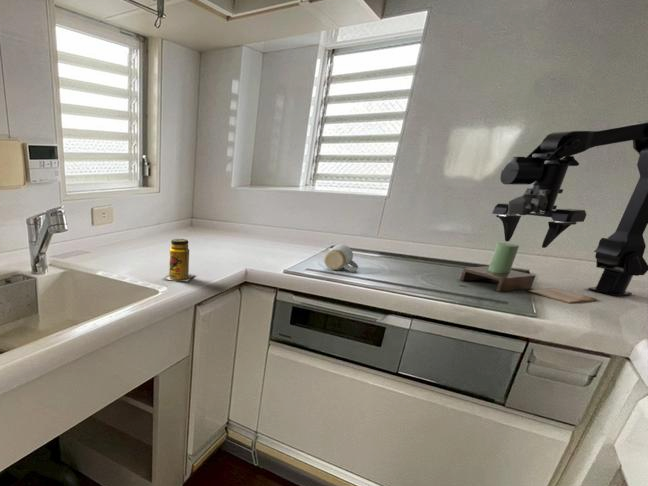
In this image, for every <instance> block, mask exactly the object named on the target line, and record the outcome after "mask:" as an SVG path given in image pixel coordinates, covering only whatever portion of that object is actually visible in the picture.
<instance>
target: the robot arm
mask: <svg viewBox="0 0 648 486" xmlns="http://www.w3.org/2000/svg"><path fill="white" fill-rule="evenodd" d="M545 136H546V137H544V138H543V140H542V142H541V143H539V145H538V146H536V148H534V149H533V150H532V151H531V152H530V153H529V154H528V155H527V156H513V157H512V158H511V160H510V162H508V163H506V165H505V166H504V168H503V169H502V170H501V172H500V176H499V178H500V182H501V183H502V185H515V186H516V185H522V186H523V185H531V186H530V188H529V187H528V188H526V190H525V191H524V193H523V194H522V195H519V196H517V197H515V198H513V199H511V200H508V203H507V202H503V203H502V202H501V203H497V204H496V205H495V206H494V207H493V209H492V211H491V214H493V215H495V217H496V218H498V219H500V222H502V226H503V233H504V241H505V242H510V241H511V239H512V237H513V235H514V233H515V231H516V229H517V227H518V224H519V223H520V220H521V218H522V216H535V217H545V218H551V219H552V221H548V222H547V224H548V229H547V232H546V234H545V237H544V239H543V242H542V245H541V248H543V249H546V248H548V246H549V245H550V244H552V243H553V241H555V240H556V239H557V238H558V237H559V236H560V235H561V234H562V233H563V232H564V231H566V230H567V229H568V228H569V227H571V226H572V225H577V224H578V223H582V222H584V221H585V219H586V217H587V212H586V210H585V209H579V208H578V209H577V208H557V207H558V205H555V204H556V201H557V199H558V195H559V194H563V192H564V189H563V188H561V187H562V185H563V182H564V179H565V177H566V174H567V172H568V169H569V167H578V166H579V165H580V162H579V161H578V160H576V157H575V155H578V154H581V153H584V152H586V151H588V150H589V149H593V148H595V147H600V146H606V145H607V146H608V145H612V144H618V143H625V142H630V141H632V148H633V150H634V151H635V152H636V153H638V160H637V164H636V166H637V170H638V173H639V178H638V180H637V183H636V185H635V187H634V189H633V192H632V194H631V196H630V198H629V200H628V203H627V205H626V207H625V210H624V212H623V214H622V216H621V218H620V220H619V223H618V225H617V228H616V230H615V231H614V233H612V234H611V235H610V236H608V237H601V238H600V239H599V241H598V244H597V247H596V248H595V250H594V251H593V252H594V253H595V255H594V258H595V259H596V265H595V267H596V268H598V269H603V271H602V274H601V275H600V277H599V279H598V282H597V284H596V286H593V287H588V288H587V290H588V291H593V292H597V293H601V294H606V295H609V296H613V297H621V296H630V295H632V294H633V292H630V291H627V289H628V287H629V286H630V282H631V281H632V280H633V277H634V276H635V277H639V276H644V275H646V273H648V263H647V261H646V260H645V258H644V254H645V251H646V248H647V247H646V242H645V238H644V233H645V231H646V229H647V226H648V120H640V121H639V120H638V121H636V122H634V123H628V124H623V125H617V126H611V127H606V128H601V129H594V130H570V131H558V132H552V133H549V134H547V135H545Z"/></svg>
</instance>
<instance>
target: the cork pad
mask: <svg viewBox="0 0 648 486" xmlns="http://www.w3.org/2000/svg"><path fill="white" fill-rule="evenodd" d="M527 292H528V293H531V294H535V295H538V296H542V297H546V298H549V299H552V300H556V301H560V302H564V303H567V304H572V303H575V304H576V303H582V302H592V301H597V300H598V299H597V298H595V297H592V296H587V295H584V294H580V293H576V292H572V291H568V290H563V289H561V288H560V289H559V288H556V287H552V288H539V289H528V290H527Z"/></svg>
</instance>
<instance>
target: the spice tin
mask: <svg viewBox="0 0 648 486" xmlns="http://www.w3.org/2000/svg"><path fill="white" fill-rule="evenodd" d="M495 245H496V246H495V249H494V251H493V254H492V257H491V260H490V263H489V265H488V266H489V269H488V271H490V272H494V273H501V274H508V273H510V270H512V267H513V264H514V262H515V259H516V256H517V253H518V252H519V251H518V250H519V248H520V245H519V244H515V243H506V242H498V243H496V244H495Z"/></svg>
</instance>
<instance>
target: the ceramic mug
mask: <svg viewBox="0 0 648 486" xmlns="http://www.w3.org/2000/svg"><path fill="white" fill-rule="evenodd" d="M353 257H354V253H353V250H352V249H351V247H349V245H346V244H337V245H334V246H333V247H332V248H331V249H329V250H328V251H327V252H326V253H325V255H324V258H323V263H324V265H325V267H326V268H327V269H329V270H331V271H339V270H341V269H344V270H347V271H349V272H350V273H351V272H352V273H355V272H357V271H358V270H359V269H360V268H359V265H358V264H357V262H355V261H354V260H353Z"/></svg>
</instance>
